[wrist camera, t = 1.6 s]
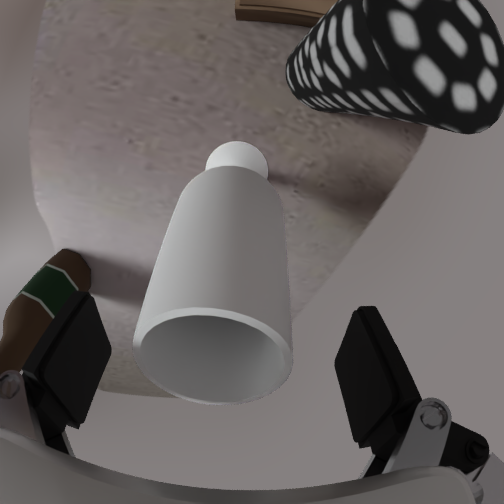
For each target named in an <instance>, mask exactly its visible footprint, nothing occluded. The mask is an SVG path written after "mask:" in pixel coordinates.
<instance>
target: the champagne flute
mask: <svg viewBox="0 0 504 504" xmlns="http://www.w3.org/2000/svg"><path fill="white" fill-rule="evenodd" d="M267 177H268V165H267V162H266V159H265V157H264V156H263V154H262V153H261V152H260V151H259V150H258V149H257V148H256V147H254V146H253V145H251V144H249V143H246V142H241V141H233V142H228V143H225V144H223V145H221V146H219V147H218V148H216V149H215V150H214V151H213V152H212V154H211V155H210V157H209V158H208V161H207V163H206V169H205V171H204V172H202V173H200V174H199V175H197V176H196V177H195V178H193V179H192V180H191V181H190V182H189V183H188V184H187V186H186V187H185V188H184V190H183V192H182V193H181V195H180V198H179V200H178V203H177V205H176V208H175V210H174V213H173V216H172V218H171V221H170V224H169V226H168V229H167V232H166V234H165V237H164V240H163V243H162V246H161V249H160V252H159V254H158V257H157V260H156V263H155V266H154V269H153V273H152V276H151V279H150V282H149V285H148V288H147V292H146V295H145V298H144V302H143V305H142V309H141V312H140V316H139V319H138V323H137V327H136V330H135V334H134V338H133V344H132V350H133V357H134V359H135V361H136V364H137V366H138V367H139V369H140V370H141V371H142V373H143V374H144V375H145V376H146V377H147V378H148V379H149V380H150V381H151V382H152V383H154V384H155V385H157V386H158V387H160V388H161V389H163V390H164V391H166V392H168V393H170V394H172V395H174V396H177V397H180V398H182V399H185V400H189V401H193V402H197V403H202V404H209V405H235V404H242V403H247V402H251V401H254V400H257V399H260V398H263V397H265V396H267V395H269V394H271V393H272V392H274V391H275V390H277V389H278V388H280V386H281V385H282V384H283V383H284V382H285V381H286V380H287V378H288V377H289V375H290V373H291V370H292V365H293V349H292V325H291V306H290V288H289V273H288V258H287V244H286V231H285V219H284V210H283V204H282V202H281V199H280V196H279V194H278V193H277V191H276V189H275V188H274V186H273V185H272V184H271V183H270V182H269V181H268V180H267Z"/></svg>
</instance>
